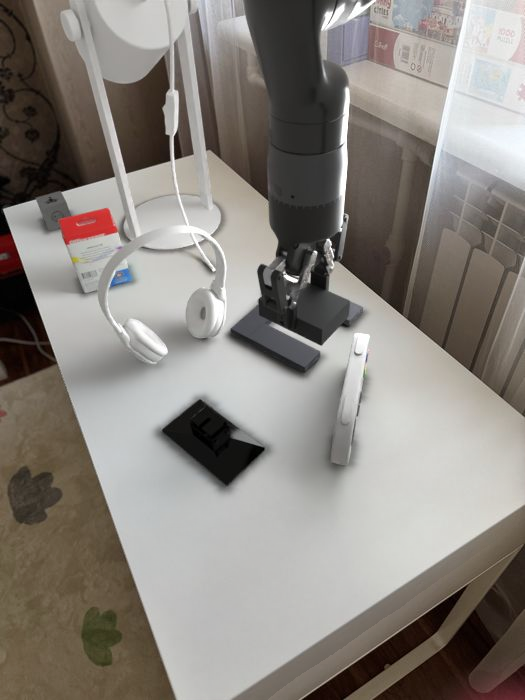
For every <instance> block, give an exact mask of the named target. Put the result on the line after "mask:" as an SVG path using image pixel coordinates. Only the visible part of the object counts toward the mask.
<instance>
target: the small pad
mask: <svg viewBox="0 0 525 700" xmlns="http://www.w3.org/2000/svg"><path fill="white" fill-rule="evenodd" d="M286 274H287V275H288V276H289V277H292V278H294V279H296V280H298V279H299V277H298V276H296V275H294V274H291V273H286ZM285 289H286V295H287V296H290V294H291V288H289V287H287V286H285ZM350 301H351V300H349V299H347V298H345V297H343V296H342V295H341V296H340V295H338V294H336V293H334V292H332V291H330V290H329V291H327V290H325V289H322V288H320V287H318V286H315V285H313V284H311V283H310V281H307V285H306V288H305V289H303V290H301V291H300V295H299V298H298V302H297V328H296V329H295V330H294V331H291V332H292V333H293V334H296V335H297V336H300V337H302V338H304V339H305V340H309V341H310V342H312V343H315V344H316V345H319V346H321V347H322V346H323V345H324V344H325V343H326V342H327V341H328V339H329V338H330V337H331V336H333V334H334V333H335V332H336V331H337V330H338V329H339V328H340V327H341V325H343V322H344V321H345V320H346V319H347V318H348V317H349V308H350ZM257 303H258V304H257V305H259V316H261V317H263V318H266V319H268V320H270V321H272V322H271V323H274V324H275V325H278V323H277V312H276V311H274V310H272V309H270V308H268V307H265V306H264V305H263V301H262V296H261V295H260V297H259V298H258V299H257Z"/></svg>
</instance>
